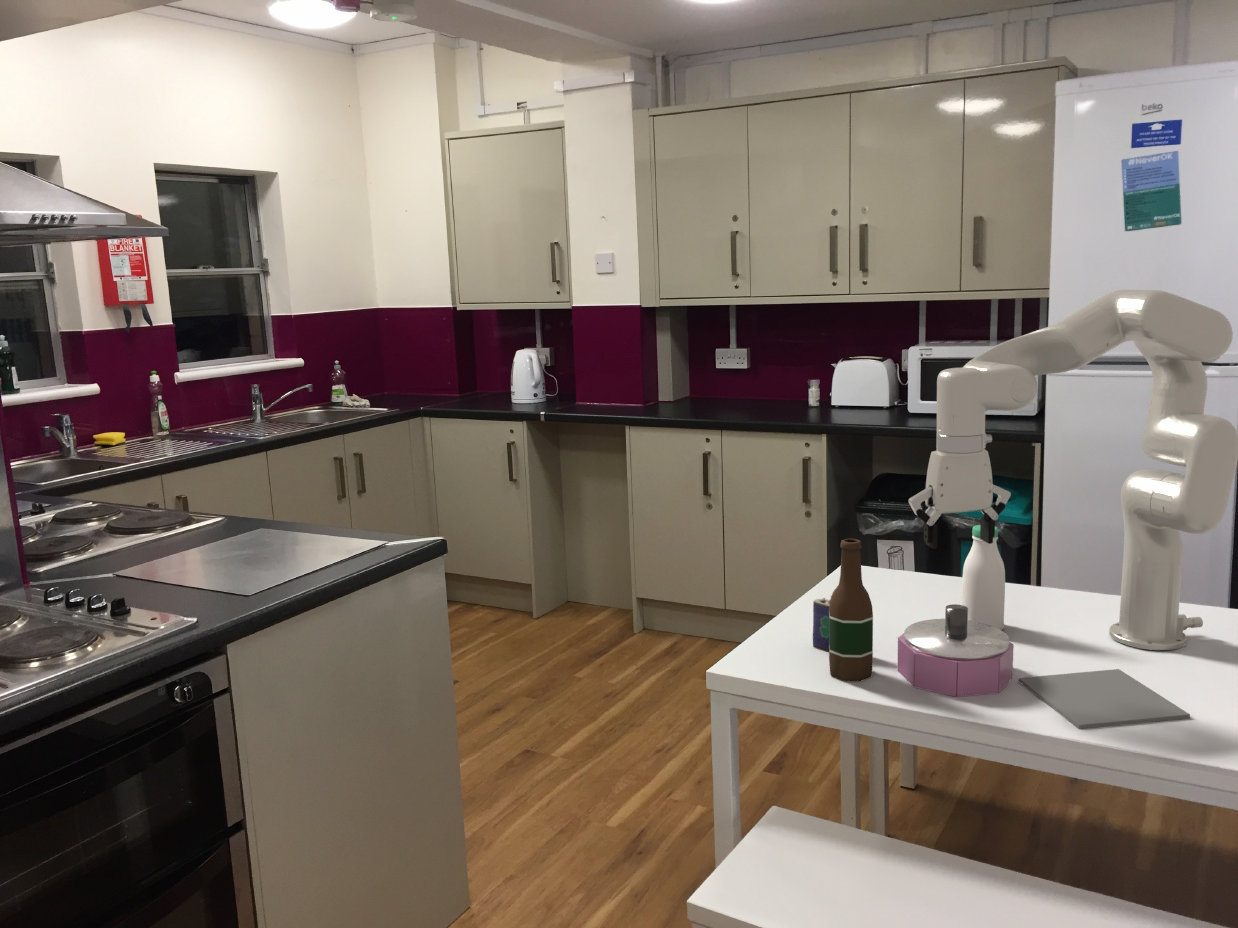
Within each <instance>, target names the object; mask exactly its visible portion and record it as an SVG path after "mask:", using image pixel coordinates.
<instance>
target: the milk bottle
mask: <svg viewBox="0 0 1238 928" xmlns="http://www.w3.org/2000/svg"><path fill="white" fill-rule="evenodd" d="M971 533H972V536H971V537H972V539H973V541H972V546H971V548H970V551H969V552H968V554H967V556H966V558H965V561H964V564H963V568H962V579H961V581H962V582H961V583H962V584H961V586H962V587H961V605H963V606H966V607H967V608H968V620H969V621H975V622H980V623H984V624H987V625H990V626H993V627H995V628H997V629H999V630H1001V631H1003V628H1004V624H1005V623H1004V622H1005V600H1006V599H1005V597H1006V596H1005V595H1006V594H1005V593H1006V569H1005V568H1006V567H1005V564H1004V560H1003V558H1002V557H1001V554H1000V551H999V547H998V543H997V542H998V539H999V537H998V536H999V528H998V527H997V526H995V536H994V537H993V543H992V544H989V543H987V542H985V541H983V540H981V539H980V524H977V525H974V526H973V527H972V531H971Z"/></svg>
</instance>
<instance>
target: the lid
mask: <svg viewBox="0 0 1238 928" xmlns="http://www.w3.org/2000/svg"><path fill="white" fill-rule="evenodd" d="M944 612H945V617H944V618H933V619H925V620H920V621H917V622H915V623H914V622H913V623H912V624H909V625H908V626H907V627H906V628H905V629H904V640H905V642H906V644H907V645H908V646H910V647H911V648H912V649H914V650H916V651H918V652H921V653H923V654H926V655H930V656H933V657H938V658H943V659H950V660H965V661H968V660H984V659H990V658H994V657H997V656H1000V655H1002V654H1004V653H1005V652H1007V650H1008V649H1009V642H1010V637H1009V636H1008V635H1007V633H1005V632H1004V631H1003V630H999V629H997V628H995V627H993V626H990V625H987V624H984V623H980V622H975V621H969V620H968V608H967V607H966V606H963V605H962V604H948V605H946V606H945V611H944Z"/></svg>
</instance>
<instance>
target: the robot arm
mask: <svg viewBox="0 0 1238 928" xmlns="http://www.w3.org/2000/svg"><path fill="white" fill-rule="evenodd" d="M1233 333H1234V332H1233V327H1232V325H1231V322H1230V321H1229V319H1228V318H1227V317H1226V315H1224V314H1223V313H1222V312H1220V311H1218V310H1216V309H1214V308H1212V307H1208V306H1206V305H1203V304H1200V303H1197V302H1194V301H1193V300H1190V299H1187V298H1185V297H1182V296H1181V295H1177V294H1174V293H1171V292H1167V291H1163V290H1157V289H1119V290H1114V291H1110V292H1108V293H1106V294H1104V295H1101V296H1100V297H1099V298H1097V299H1095V300H1093V301H1092V302H1090V303H1088V304H1086V305H1085V306H1084V307H1082V308H1080V309H1079V310H1076V311H1075V312H1073V313H1072V314H1070V315H1068V316H1066V317H1065V318H1062V320H1061V319H1060V321H1058V322H1056V323H1054V324H1052V325H1049V326H1046V327H1043V328H1040V329H1038V330H1037V329H1036V330H1035V331H1031V332H1029V333H1026V334H1024V335H1020V336H1016V337H1014V338H1011V339H1009V340H1006V341H1003V342H1001V343H999V344H996V345H995V346H993V347H991V348H989V349H987V350H986V351H983V352H982V353H980V354H978V355H977V356H974V357H973V358H972V359H970V360H969V361H967V363H965V365H963V366H962V367H952V368H946V369H943V370H941V371H940V372H939V373H938V375H937V379H936V439H935V441H936V446H935V447H936V450H934V451H931V453H930V455H929V456H930V457H929V459H928V460H929V461H928V466H927V472H926V480H925V488H924V489H923V490H921V491H920V492H918V493H917V494H915V495H913V496H911V497H910V498H908V505H909V506H910V508H911V510H912V511H913V514H914V515H916V517H917V518H919V520H920V521H921V522H922V523H923V541H924V543H925V545H926V546H928V547H929V548H930V549H933V550H934V549H937V548H938V547H939V546H938V544H939V543H938V542H939V541H938V537H939V536H938V531H939V530H938V529H939V528H938V525H936V524H935V523H936V522H937V520H939V518H940V517H941V516H942V514H957V513H969V512H970V513H971V512H979V511H980V512H981V513H982V516H981V517H980V524H979V525H980V539H981V540H983V541H985V542H987V543H989V544H992V543H993V537H994V536H995V527H996V521H997V520H998V519H999V515H1000V514H1001V513H1002V512H1003V511H1004V510H1005V509H1006V504H1007V503H1008V501H1009V499H1010V498H1011V496H1012V495H1011V494H1012V493H1011V491H1009V490H1006V489H1004V488H1002V487H1000V486H997V485H995V484H993V473H992V466H991V460H990V455H989V451H988V450H987V449H986V446H987V444H988V443H992V442H993V436H992V434H987V432H986V412H987V411H998V412H999V411H1000V412H1015V411H1020V410H1022V409H1024V408H1026V407H1028V405H1030V404H1031V403H1032V402H1033V401H1034V400H1035V398H1036V396H1037V393H1038V387H1039V386H1038V382H1037V378H1036V377H1035V376H1043V375H1052V374H1060V373H1066V372H1071V371H1074V370H1075V371H1076V370H1078V369H1081V368H1083V367H1085V366H1087V365H1088V364H1090V363H1092V362H1093V361H1095V360H1096V359H1098V358H1099V357H1101V356H1103V355H1104V354H1106V353H1107V352H1110V351H1111V350H1113V349H1115V348H1116V347H1118V346H1119V345H1121V344H1123V343H1126V342H1131V341H1133V343H1134V345H1135V347H1136V348H1137V349H1138V351H1139V352H1140V353H1141V354H1142V356H1143V357H1144V358H1145V360H1146V362H1147V363H1148V365H1149V368H1150V371H1151V375H1152V389H1151V395H1150V400H1149V404H1148V409H1147V413H1146V418H1145V422H1144V428H1143V432H1142V438H1141V439H1142V440H1141V448H1142V451H1143V453H1144V454H1145V455H1146V456H1147V457H1149V458H1150V459H1152V460H1154V461H1157V462H1161V463H1165V464H1170V465H1174V466H1179V467H1183V468H1185V474H1182V473H1179V472H1178V473H1177V472H1174V471H1167V470H1163V469H1158V468H1143V469H1139V470H1135V471H1134V472H1132V473H1130V474H1129V475H1128V476H1127V477H1126V479H1125V480H1124V481H1123V484H1122V485H1121V489H1120V497H1119V499H1120V507H1121V513H1122V518H1123V519H1122V520H1123V533H1124V534H1123V555H1122V570H1121V589H1120V604H1119V619H1118V620H1119V622H1115V623H1113V624H1112V625H1110V627H1109V629H1108V630H1109V633H1108V634H1109V636H1110V637H1111V638H1112V639H1113V640H1114V641H1116V642H1118V643H1121V644H1123V645H1126V646H1130V647H1133V648H1137V649H1144V650H1148V651H1149V650H1150V651H1152V650H1153V651H1171V650H1172V651H1173V650H1177V649H1180V648H1182V647H1184V646H1185V645H1186V644H1187V639H1188V638H1187V635H1186V634H1185V632H1184V631H1186V630H1187V629H1188V628H1191V629H1195V628H1203V625H1204V621H1203V619H1202V617H1201V616H1191V617H1187V615H1186V614H1185V613H1183V614H1179V613H1180V599H1181V598H1180V597H1181V588H1182V587H1181V585H1182V584H1181V583H1182V574H1183V573H1182V572H1183V571H1182V569H1183V557H1184V545H1183V544H1184V543H1183V539H1182V536H1181V533H1180V532H1183V533H1188V534H1192V535H1204V534H1207V533H1210V532H1213V531H1214V529H1216V528H1217V527H1218V526H1219V525H1220V524H1221V522H1222V520H1223V517H1224V516H1225V514H1226V510H1227V507H1228V504H1229V498H1230V494H1231V490H1232V486H1233V484H1234V483H1233V482H1234V479H1235V473H1236V469H1237V466H1238V431H1237V429H1236V428H1235V426H1234V425H1233V423H1231V421H1229V420H1228V419H1225V418H1224V417H1220V416H1217V415H1211V414H1205V413H1204V411H1205V404H1206V400H1207V392H1208V378H1207V373H1206V369H1205V367H1204V366H1203V363H1202V362H1210V361H1213V360H1216V359H1218V358H1220V357H1222V356H1223V355H1224V354H1225V353H1226V352H1227V351H1228V350H1229V348H1230V346H1231V344H1232V341H1233V335H1234V334H1233ZM994 494H996V495H997V498H996V501H994V502H993V499H994ZM923 502H925V503H924V504H925V506H926V507H927V509H925V511H924V510H923V508H922V506H921V505H922V503H923Z"/></svg>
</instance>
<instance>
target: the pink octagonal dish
mask: <svg viewBox="0 0 1238 928" xmlns="http://www.w3.org/2000/svg"><path fill="white" fill-rule="evenodd" d="M1014 649H1015V648H1014V644H1013V643H1012V642H1010V641H1009V649H1008V650H1007V652H1005V653H1004V654H1002V655H1000V656H997V657H994V658H990V659H984V660H968V661H965V660H950V659H943V658H938V657H933V656H930V655H926V654H923V653H921V652H918V651H916V650H914V649H912V648H911V647H910V646H908V645H907V644H906V642H905V640H904V633H902V634H900V635H899V636H898V637H897V672H898V673H899V674H900V675H901V676H902V677H903V678H904V679H905V680H906V681H907V683H909V684H910V685H911V686H913V687H914V688H916V689H920V690H921V689H922V690H924V691H929V692H933V693H938V694H942V695H946V696H951V697H956V698H961V697H970V696H981V695H992V694H993V695H994V694H999V693H1001V691H1002V690H1003V689H1004V688H1005V687H1006V685H1008V684H1009V683H1010V681H1011V680H1012V679H1013V673H1014V671H1013V670H1014V669H1013V668H1014Z"/></svg>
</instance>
